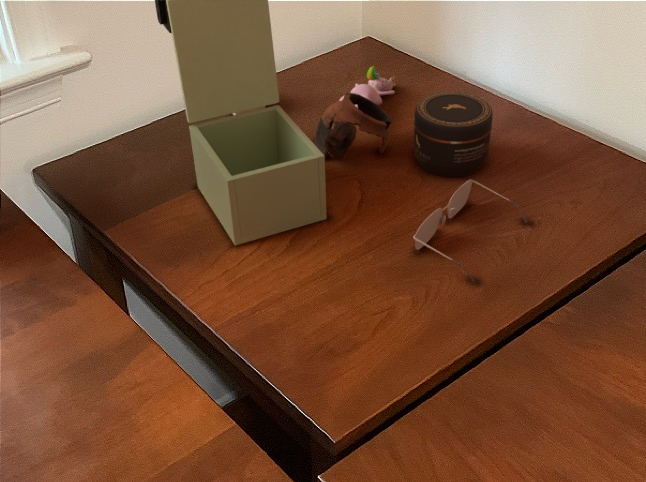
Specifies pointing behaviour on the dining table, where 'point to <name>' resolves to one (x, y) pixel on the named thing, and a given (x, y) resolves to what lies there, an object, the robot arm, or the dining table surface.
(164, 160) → the dining table surface
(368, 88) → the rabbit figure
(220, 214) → the chest
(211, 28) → the lid
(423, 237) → the eyeglasses
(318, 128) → the brown crumpled piece
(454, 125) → the jar
